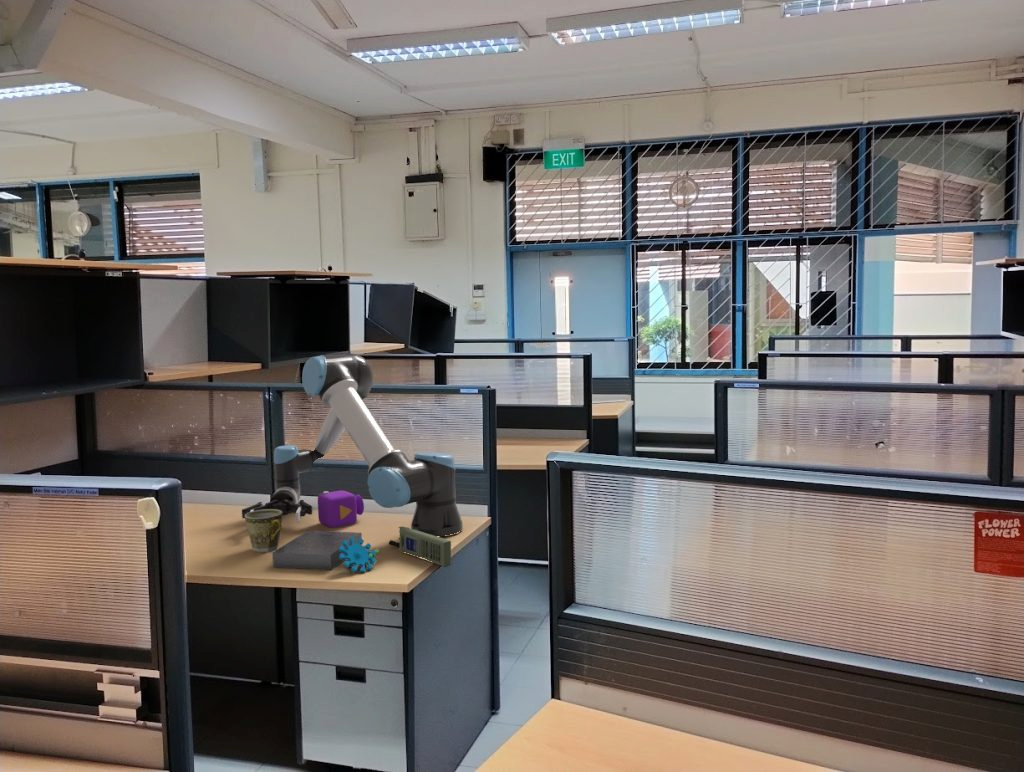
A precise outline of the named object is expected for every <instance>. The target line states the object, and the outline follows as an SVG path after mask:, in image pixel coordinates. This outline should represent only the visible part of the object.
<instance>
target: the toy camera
mask: <svg viewBox="0 0 1024 772" xmlns="http://www.w3.org/2000/svg"><path fill="white" fill-rule="evenodd" d="M364 511H365V504H364V500H363V498H362V496H361V495H360V494H356V495H355V494H353V493H352V492H349V491H347V490H336V491H330V492H329V491H326V490H325V491H323V492H322V493H321V494H318V495H317V514H318V521H319V523H320V524H322V525H324V526H326V527H328V528H332V529H333V528H338V527H344V526H349V525H353V524H355V523H357V521H358V519H357V518H358V516H357V515H359V516H361V515H362V514H363V513H364Z"/></svg>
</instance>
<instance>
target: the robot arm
mask: <svg viewBox="0 0 1024 772" xmlns="http://www.w3.org/2000/svg"><path fill="white" fill-rule="evenodd" d="M373 373H374V372H373V369H372V366H371V364H370V363H369V362H368V360H366V359H365V358H364V356H363V357H362V356H361V355H359V354H357V353H343V354H329V355H319V356H312V357H310V358H308V359H307V361H306V362H305V363H304V366H303V369H302V374H301V375H302V377H301V381H302V387H303V389H304V391H305V393H306V394H307V395H308V396H310V397H314V398H315V397H318V399H320V401H321V403H322V404H323V405H324V406H326V407H327V408H329V407H330V409H329V411H328V413H327V415H326V417H325V419H324V421H323V423H322V425H323V426H321V427H322V428H321V427H320V429H321V431H320V430H319V431H320V434H319V436H318V438H317V440H316V445H315V446H316V447H315V450H314V451H311V450H306V449H307V448H302V449H299V448H298V446H297V445H292V444H291V445H290V444H289V445H280V446H277V447H275V448H274V451H273V463H274V466H273V467H274V474H275V477H274V478H275V481H274V483H275V484H274V485H275V492H274V493H273V495H272V496H271V498H270V500H269V502H266V503H265V504H264V503H263V502H262V501H259V502H257V503H255V504H252V505H250V506H248V507H245V508H243V509H241V518H242V519H245V514H247V513H249V512H252V511H256V510H263V509H277V510H281V511H282V517H283V516H286V515H289V514H295V520H296V521H295V522H296V523H299V522H300V520H301V518H302V517H305V516H306V515H313V506H312V505H311V504H309V503H307V502H305V500H304V499H300V498H301V495H302V487H301V485H300V474H301V473H307V472H309V471H308V470H310V469H311V467H312V465H313V462H314V461H315V460H316V459H318V458H321V457H323V456H324V455H325V454H327V453H328V451H329V448H332V447H333V446H334V445H335V444H336V443H337V441H338V440H339V438H340V437H341V435H342V433H343V432H344V431H345V429H346V431H345V432H347V434H348V435H349V437H350V438H351V440H352V441H353V443H354V444H355V447H356V448H357V449H358V451H359V453H360V454H361V455H362V457H363V458H364V460H365V461H366V462H365V463H367V465H368V470H367V475H368V477H367V486H368V488H367V489H368V492H369V495H370V498H372V499H373V501H374V502H375V503H376V504H377V505H378V506H380V507H382V508H386V509H392V508H400V507H404V506H407V505H410V504H413V503H416V504H415V509H414V512H413V516H412V520H411V524H410V529H414V530H417V531H420V532H424V533H427V534H430V535H433V536H445V535H450V534H454V533H457V532H459V531H461V530H462V529H464V528H463V520H462V518H461V515H460V512H459V508H458V506H457V500H456V498H457V497H456V496H457V494H456V470H457V468H456V465H455V459H454V457H453V455H452V454H451V455H450V454H448V453H444V452H443V453H442V452H441V453H440V452H439V453H438V452H417V453H414V456H413V460H409V458H408V457H407V456H406V454H405V453H404V451H403V450H399V449H395V447H394V446H393V444H392V443H391V441H390V440H389V438H388V437H387V435H386V434H385V432H384V431H383V429H382V428H381V426H380V424H379V423H378V422H377V420H376V418H375V417H374V415H373V414H372V412H371V411H370V409H369V408H368V406H367V405H366V404H365V402H364V401H363V400H365V399H366V398H367V397H368V395H369V394H370V392H371V389H372V385H373V383H374V382H373V381H374V375H373ZM306 471H307V472H306ZM300 487H301V488H300ZM299 499H300V500H299ZM462 531H463V530H462ZM462 531H461V532H462Z"/></svg>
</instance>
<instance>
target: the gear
mask: <svg viewBox="0 0 1024 772" xmlns="http://www.w3.org/2000/svg"><path fill="white" fill-rule="evenodd" d="M355 540H356V539H355V538H353V537H351V538H350V540H349V541H350V543H351V546H349V545H348V540H344V541H343V542H342V544H343V545H344V546H345V547H346V549H347V550H345V549H344V546H340V548H339V549H338V550H339V551H340V552H343V553H345V554H346V555H347V556H345V555H344V554H343V553H341V554H340V555H339V559H341V560H342V559H346V560H344V561H343V562H342V563H343V566H344V567H345V568H348V567H349V568H350V571H352V572H353V573H356V572H357V570H358V567H359V566H360V567H361V568H360V569H359V573H361V572H364V573H365V572H367V570H368V571H371V570H372V569H373V568H374V565H375V563H376V562H377V559H376V558H375V556H377V554H378V553H379V549H378V548H375V549H374V550H370V549H371V548H372V545H371V543H370V542H369V543H368V542H367V544H366V545H363V544H364V542H365V540H364V539H361V538H360V539H359V540H358V544H356V545H355V544H354V541H355ZM360 544H362V546H361V545H360ZM351 566H352V567H351ZM365 566H366V567H365ZM370 569H371V570H370Z"/></svg>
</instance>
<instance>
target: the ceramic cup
mask: <svg viewBox="0 0 1024 772" xmlns="http://www.w3.org/2000/svg"><path fill="white" fill-rule="evenodd" d="M244 520H245V525H246V529H247V532H248V536H249V541H250V544H251V548H252V551H253V550H254V551H253V552H256V551H257V552H256V553H269V551H270V552H274V551H275V550H277V549H278V547H279V543H280V533H281V529H282V526H283V525H282V520H283V516H282V511H281V510H277V509H263V510H256V511H252V512H249V513H247V514H245V518H244Z"/></svg>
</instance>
